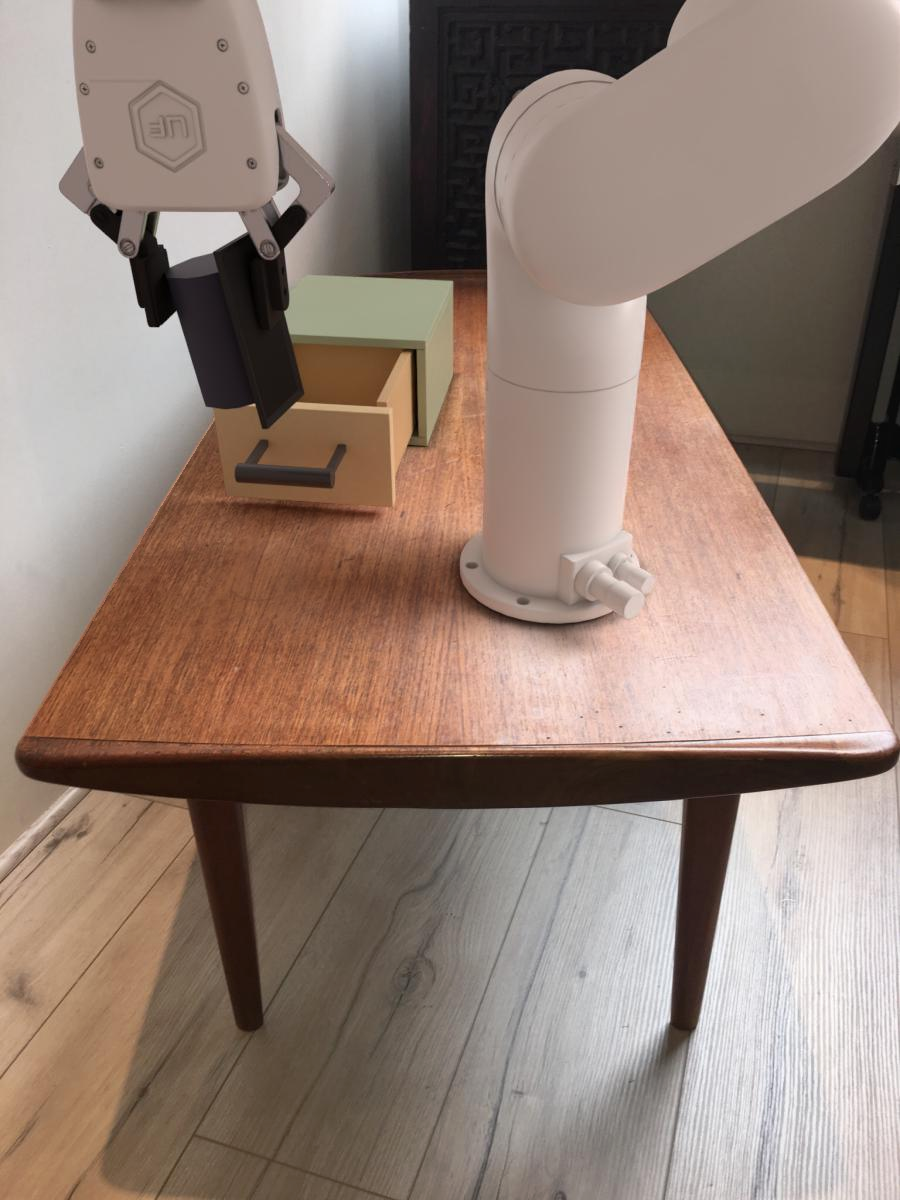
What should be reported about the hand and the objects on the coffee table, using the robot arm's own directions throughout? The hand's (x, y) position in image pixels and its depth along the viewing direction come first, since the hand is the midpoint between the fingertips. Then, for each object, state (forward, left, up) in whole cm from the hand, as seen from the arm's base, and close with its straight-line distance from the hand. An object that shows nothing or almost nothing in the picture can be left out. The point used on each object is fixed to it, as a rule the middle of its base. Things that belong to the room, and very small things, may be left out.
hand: (216, 318), depth 59 cm
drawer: (+10, -12, -18) cm, 24 cm away
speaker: (0, -1, -5) cm, 6 cm away
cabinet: (+21, -23, -19) cm, 37 cm away
